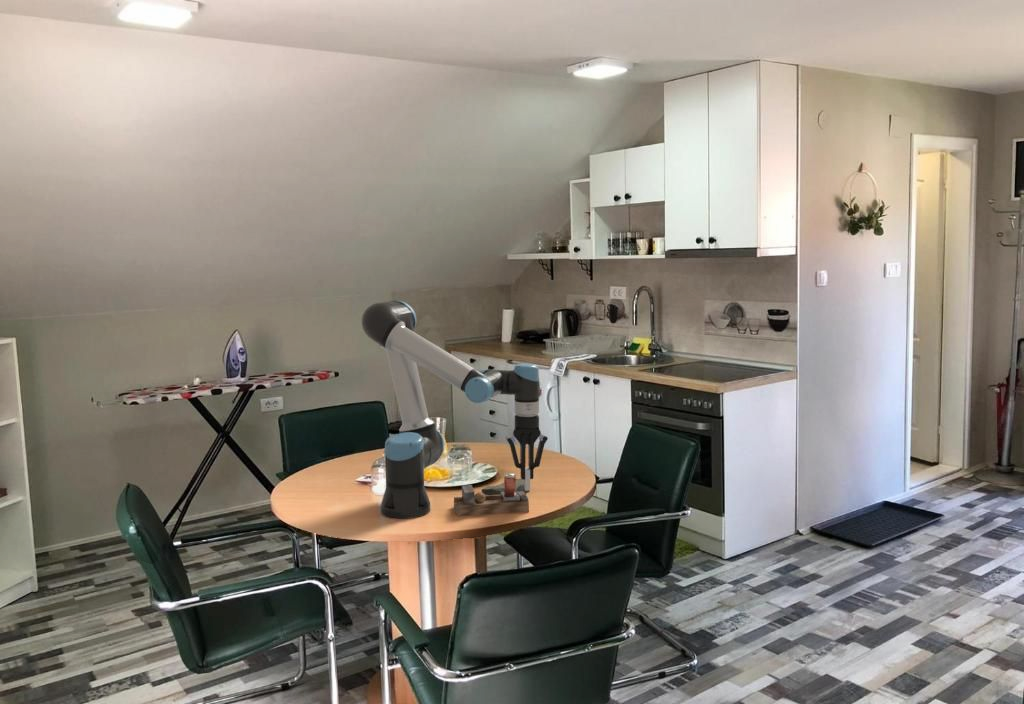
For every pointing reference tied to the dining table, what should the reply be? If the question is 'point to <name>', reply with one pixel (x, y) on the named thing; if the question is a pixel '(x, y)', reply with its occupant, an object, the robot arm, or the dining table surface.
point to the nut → (479, 498)
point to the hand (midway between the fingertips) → (527, 489)
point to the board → (487, 504)
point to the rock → (500, 488)
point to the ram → (509, 489)
